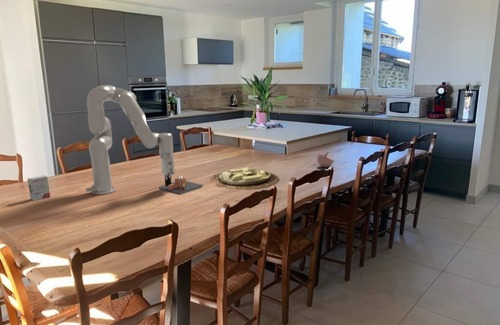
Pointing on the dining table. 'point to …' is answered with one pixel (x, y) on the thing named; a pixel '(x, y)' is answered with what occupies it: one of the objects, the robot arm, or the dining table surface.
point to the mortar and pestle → (324, 160)
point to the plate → (246, 179)
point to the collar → (177, 183)
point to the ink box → (38, 187)
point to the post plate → (184, 189)
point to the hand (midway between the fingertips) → (168, 185)
